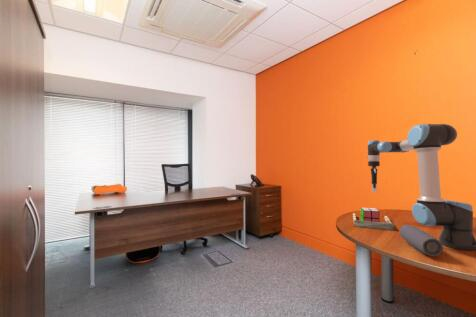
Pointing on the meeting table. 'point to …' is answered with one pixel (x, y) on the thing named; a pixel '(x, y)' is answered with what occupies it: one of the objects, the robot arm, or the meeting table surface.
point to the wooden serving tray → (374, 224)
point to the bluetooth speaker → (421, 240)
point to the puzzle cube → (370, 214)
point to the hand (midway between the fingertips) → (374, 192)
